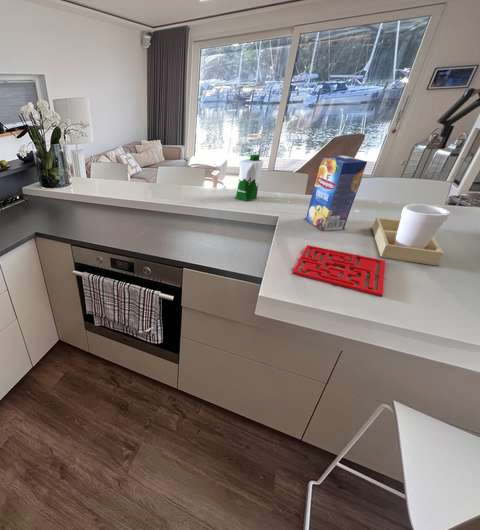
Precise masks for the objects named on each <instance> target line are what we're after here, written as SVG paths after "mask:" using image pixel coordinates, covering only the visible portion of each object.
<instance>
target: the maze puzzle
mask: <svg viewBox="0 0 480 530" xmlns="http://www.w3.org/2000/svg"><path fill="white" fill-rule="evenodd" d="M309 250H311V251H310V253H309V255H308V256H307V254H308V252H309ZM315 253H316V254H317V255H316V257H314V256H315ZM322 255H324V256H323V259H322V262H320V259H321V257H322ZM329 256H331V259H330V260H329ZM349 258H351V260H349V261H348V259H349ZM357 259H358V260H359V261H358V265H356V260H357ZM303 263H304V265H303V267H302V269H301V271H299V270H300V268H301V266H302V264H303ZM377 263H378V264H379V271H378V281H377V290H375V289H374V288H375V287H374V286H375V279H376V271H377V270H376V269H377ZM326 265H327V266H328V267H327V268H326ZM317 266H318V267H319V269H318V268H317ZM336 266H338V267H336ZM339 267H342V268H339ZM350 269H352V270H350ZM385 270H386V260H384V259H379V258H374V257H369V256H365V255H364V256H363V255H360V254H354V253H349V252H344V251H339V250H334V249H328V248H324V247H320V246H315V245H314V246H313V245H308V244H307V245H306V246H305V248H304V250H303V252H302V254H301V255H300V258H299V259H298V262H297V263H296V265H295V267H294V268H293V270H292V274H293V275H297V276H301V277H304V278H309V279H313V280H317V281H319V282H323V283H328V284H331V285H336V286H339V287H344V288H347V289H352V290H355V291H359V292H363V293H367V294H370V295H375V296H378V297H383V295H384V284H385V272H386V271H385ZM307 272H308V273H307ZM327 273H328V274H327ZM340 273H342V277H339V276H340ZM367 273H369V278H368V285H367V287H365V283H366V277H367ZM318 274H319V275H320V276H319V275H318ZM358 274H360V277H357V275H358ZM348 277H351V278H350V280H349V279H348ZM356 284H358V285H356Z"/></svg>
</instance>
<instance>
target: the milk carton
mask: <svg viewBox="0 0 480 530" xmlns="http://www.w3.org/2000/svg"><path fill="white" fill-rule="evenodd" d="M264 162H265V160H264V159H263V160H262V159H260V154H251V155H250V157H249V158H247V159H243V160H240V161H239V175H238V184H237V188H236V189H237V190H236V194H235V199H237V200H242V201H245V202H249V201H252V200H255V199H257V196H258V190H259V184H260V179H261V173H262V168H263V166H264Z"/></svg>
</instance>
